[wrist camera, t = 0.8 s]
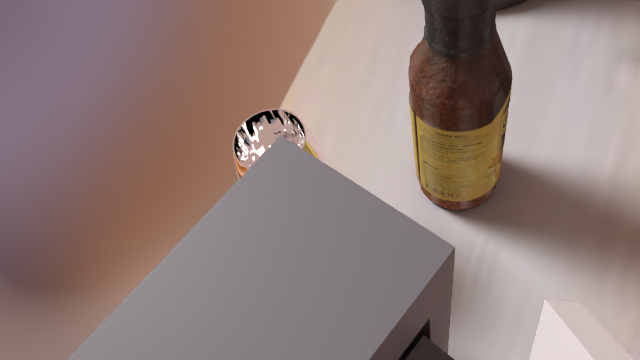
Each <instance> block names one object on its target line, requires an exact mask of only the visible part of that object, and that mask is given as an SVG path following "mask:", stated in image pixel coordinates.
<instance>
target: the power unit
mask: <svg viewBox="0 0 640 360" xmlns="http://www.w3.org/2000/svg"><path fill="white" fill-rule="evenodd" d="M454 255H455V247H454V246H452V245H451V244H449V243H447V242H446V241H444V240H443V239H441V238H440V237H438V236H437V235H435V234H433V233H432V232H430V231H429V230H427V229H426V228H424V227H423V226H421V225H419V224H418V223H416V222H415V221H413V220H412V219H410V218H409V217H407V216H406V215H404V214H402V213H401V212H399V211H398V210H396V209H395V208H393V207H392V206H390V205H388V204H387V203H385V202H384V201H382V200H381V199H379V198H378V197H376V196H375V195H373V194H371V193H370V192H368V191H367V190H365V189H364V188H362V187H361V186H359V185H357V184H356V183H354V182H353V181H351V180H350V179H348V178H347V177H345V176H343V175H342V174H340V173H339V172H337V171H336V170H334V169H333V168H331V167H330V166H328V165H326V164H325V163H323V162H322V161H320V160H319V159H317V158H316V157H314V156H312V155H311V154H309V153H308V152H306V151H305V150H303V149H302V148H300V147H299V146H297V145H295V144H294V143H292V142H291V141H289V140H288V139H286V138H285V137H283V136H280V137H279V138H278V139H277V140H276V141H275V142H274V143H273V144H272V145H271V146H270V147H269V148H268V149H267V150H266V151H265V152H264V154H263V155H262V156H261V157H260V158H259V159H258V160H257V161H256V162H255V163H254V164H253V165H252V166H251V167H250V168H249V169H248V170H247V171H246V172H245V174H244V175H243V176H242V177H241V178H240V179H239V180H238V181H237V182H236V183H235V184H234V185H233V186H232V187H231V188H230V189H229V190H228V191H227V192H226V193H225V195H224V196H223V197H222V198H221V199H220V200H219V201H218V202H217V203H216V204H215V205H214V206H213V207H212V208H211V209H210V211H208V212H207V213H206V215H205V216H204V217H203V218H202V219H201V220H200V221H199V222H198V223H197V224H196V225H195V226H194V227H193V228H192V229H191V230H190V231H189V232H188V234H187V235H186V236H185V237H184V238H183V239H182V240H181V241H180V242H179V243H178V244H177V245H176V246H175V247H174V248H173V249H172V250H171V251H170V253H169V254H168V255H167V256H166V257H165V258H164V259H163V260H162V261H161V262H160V263H159V264H158V265H157V266H156V267H155V268H154V269H153V270H152V271H151V272H150V273H149V275H148V276H147V277H146V278H145V279H144V280H143V281H142V282H141V283H140V284H139V285H138V286H137V287H136V288H135V289H134V290H133V291H132V293H131V294H130V295H129V296H128V297H127V298H126V299H125V300H124V301H123V302H122V303H121V304H120V305H119V306H118V307H117V308H116V309H115V310H114V311H113V312H112V313H111V314H110V316H109V317H108V318H107V319H106V320H105V321H104V322H103V323H102V324H101V325H100V326H99V327H98V328H97V329H96V330H95V331H94V332H93V333H92V334H91V336H90V337H89V338H88V339H87V340H86V341H85V342H84V343H83V344H82V345H81V346H80V347H79V348H78V349H77V350H76V351H75V352H74V353H73V354H72V356H71V357H70V358H69V359H68V360H398V359H399V358H400V356H401V355H402V354H403V352H404V351H405V350H406V349H407V348H408V347H409V346H411V345H412V344H413V343H414V342H416V341H417V340H418V339H419V338H421V337H422V336H423V335H424V336H426V337H427V338H428V339H429V340H431V341H432V342H433V343H434V344H436V345H437V346H438V347H439V348H441V349H442V350H443V351H444V352H446V353H448V339H449V325H450V311H451V297H452V283H453V269H454Z"/></svg>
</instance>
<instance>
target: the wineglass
mask: <svg viewBox="0 0 640 360" xmlns="http://www.w3.org/2000/svg"><path fill="white" fill-rule="evenodd" d="M280 136H283V137H285V138H286V139H288V140H289V141H291V142H292V143H294V144H295V145H297V146H299V147H300V148H302V149H303V150H305V151H306V152H308V153H309V154H311V155H312V156H314V157H316V158H317V159H319V160H320V161H322V162H323V163H325V158H324V155H323V152H322V149H321V147H320V145H319V143H318V141H317V140H316V138H315V137H314V135H313V133H312V132H311V131H310V129H309V128H308V127H307V126H306V125H305V123H304V122H303V121H302V120H301V119H300V118H299V117H298V116H296V115H295V114H293V113H292V112H289V111H287V110H282V109H267V110H264V111H260V112H258V113H256V114H254V115H252V116H251V117H249V118H248V119H246V120H245V121H244V122H243V123H242V124H241V125H240V126H239V128H238V129H237V131H236V133H235V136H234V139H233V156H234V162H235V167H236V171H237V175H238V178H239V179H240V178H241V177H242V176H243V175H244V174H245V172H246V171H247V170H248V169H249V168H250V167H251V166H252V165H253V164H254V163H255V162H256V161H257V160H258V159H259V158H260V157H261V156H262V155H263V154H264V152H265V151H266V150H267V149H268V148H269V147H270V146H271V145H272V144H273V143H274V142H275V141H276V140H277V139H278V138H279V137H280ZM325 164H326V163H325Z"/></svg>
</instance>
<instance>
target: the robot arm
mask: <svg viewBox="0 0 640 360" xmlns="http://www.w3.org/2000/svg"><path fill="white" fill-rule="evenodd" d="M524 1H526V0H497V2H496V10H498V9H502V8H507V7H510V6H513V5H516V4H519V3H521V2H524ZM529 360H633V359H632V358H631V356H630V355H629V354H628V353H627V352H626V351H625V350H624V349H623V348H622V347H621V346H620V345H619V344H618V342H617V341H616V340H615V339H614V338H613V337H612V336H611V335H610V334H609V333H608V332H607V331H606V329H605V328H604V327H603V326H602V325H601V324H600V323H599V322H598V321H597V320H596V319H595V318H594V316H593V315H592V314H591V313H590V312H589V311H588V310H587V309H586V308H585V307H584V306H583V305H582V304H581V303H575V302H566V301H558V300H550V299H545V301H544V304H543V308H542V312H541V316H540V320H539V324H538V328H537V332H536V335H535V339H534V343H533V347H532V351H531V355H530V359H529Z"/></svg>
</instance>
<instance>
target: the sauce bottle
mask: <svg viewBox="0 0 640 360" xmlns="http://www.w3.org/2000/svg"><path fill="white" fill-rule="evenodd" d="M421 1H422V3H423V6H424V9H425V27H424V37H423V39H422V41H421V42H420V43H419V44H418V45H417V46H416V48H415V49H414V51H413V52H412V54H411V56H410V65H409V85H410V93H409V104H410V114H411V123H412V134H413V144H414V154H415V164H416V173H417V177H418V180H419V183H420V185H421V189H422V191H423V193H424V194H425V195H426V196H427V197H428V198H429V199H430V200H431V201H433V202H434V203H436V204H438V205H440V206H442V207H444V208H447V209H453V210H462V209H468V208H469V209H470V208H472V207H474V206H477V205H479V204H481V203H482V202H484V201H485V200H486V199H487V198H488V197H489V196H490V194H491V193H492V191H493V189H494V188H495V186H496V183H497V180H498V178H499V175H500V168H501V161H502V153H503V146H504V140H505V131H506V124H507V117H508V108H509V102H510V94H511V85H512V70H511V66H510V63H509V61H508V59H507V56H506V53H505V51H504V48H503V46H502V43H501V40H500V38H499V35H498V33H497V30H496V23H495V18H496V2H497V0H421Z"/></svg>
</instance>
